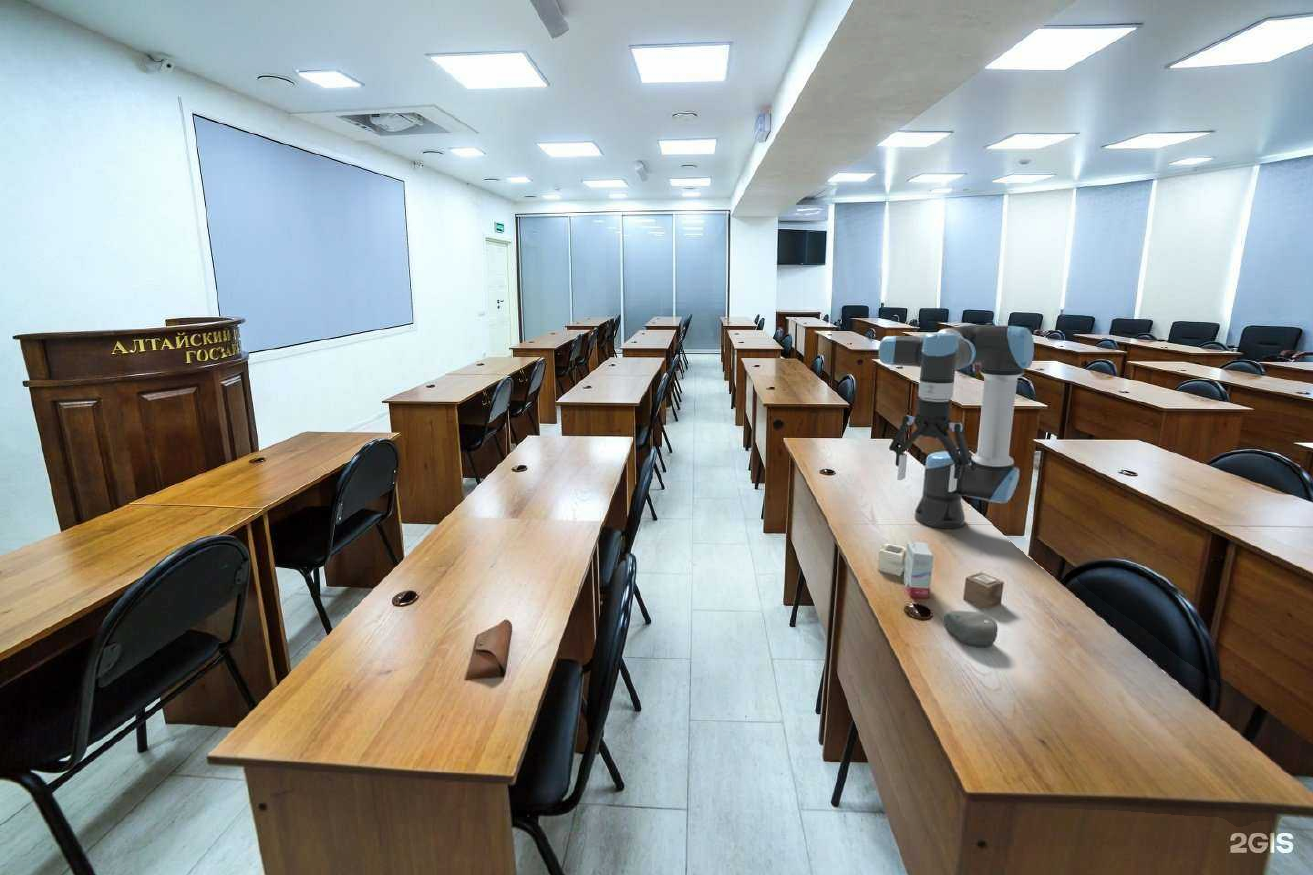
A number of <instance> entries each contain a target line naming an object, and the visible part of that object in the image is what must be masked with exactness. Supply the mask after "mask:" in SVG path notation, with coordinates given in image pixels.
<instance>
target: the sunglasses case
mask: <svg viewBox="0 0 1313 875" xmlns="http://www.w3.org/2000/svg"><path fill="white" fill-rule="evenodd" d="M512 634H513V624H512V622H511V621H510V620H509V619H504V620H502V621H501V622H500V623H498V624H497V625H494V626H493V627H490V628H488V629H486V630H484V631H482V632H480V633H477V635H476V636H477V637H475V642H474V647H473V651H472V655H471V657H470V661H469V664H468V668H467V670H466V673H465V677H464V680H466V681H472V680H482V679H483V680H484V679H496V678H497V679H498V678H504V677H505V676H506V673H507V666H508V659H509V653H510V647H511V646H510V645H511V641H512Z"/></svg>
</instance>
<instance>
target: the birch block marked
mask: <svg viewBox="0 0 1313 875" xmlns="http://www.w3.org/2000/svg"><path fill="white" fill-rule="evenodd" d="M906 550H907V547H904V546H900V545H895V544H891V543H887V542H886V543H885V544H884V545H883V546H882V547H881V548H879V550H878V559H877V560H878V562H877V563H878V564H877V571H879V572H882V573H883V572H884V573H887V574H891V575H896V576H899V577H901V575H902V574H903V573H904V572H905V560H906Z"/></svg>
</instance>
